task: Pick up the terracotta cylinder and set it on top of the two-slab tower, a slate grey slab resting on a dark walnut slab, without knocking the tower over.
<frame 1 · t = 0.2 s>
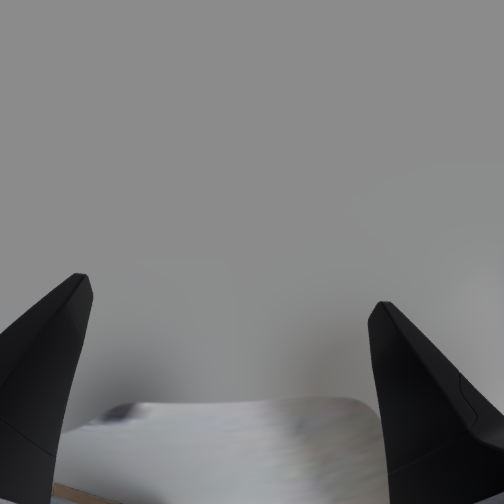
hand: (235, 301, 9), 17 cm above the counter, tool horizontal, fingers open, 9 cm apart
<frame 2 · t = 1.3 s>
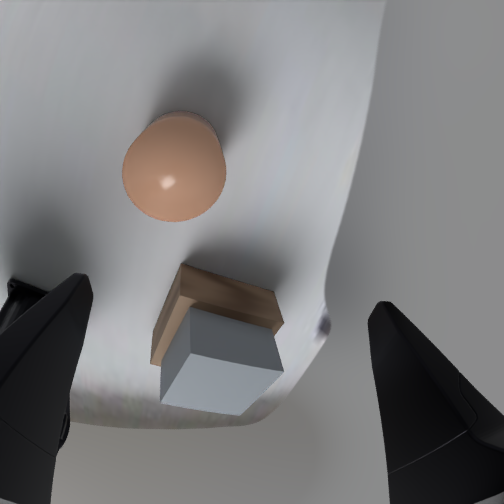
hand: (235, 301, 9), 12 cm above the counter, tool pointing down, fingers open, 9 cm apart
slate slab: (214, 346, 22), point 4 cm above the counter
terracotta cylinder: (179, 150, 18), on the counter
walnut slab: (210, 310, 26), on the counter
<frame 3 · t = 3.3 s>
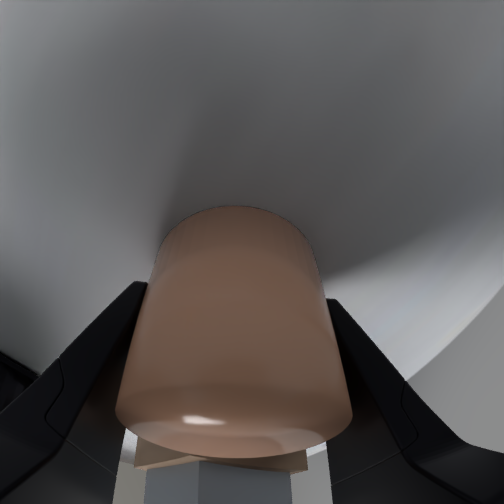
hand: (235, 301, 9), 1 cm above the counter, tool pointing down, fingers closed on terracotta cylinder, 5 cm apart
slate slab: (215, 475, 15), point 4 cm above the counter
terracotta cylinder: (235, 276, 10), on the counter, touching gripper
walnut slab: (217, 420, 18), on the counter
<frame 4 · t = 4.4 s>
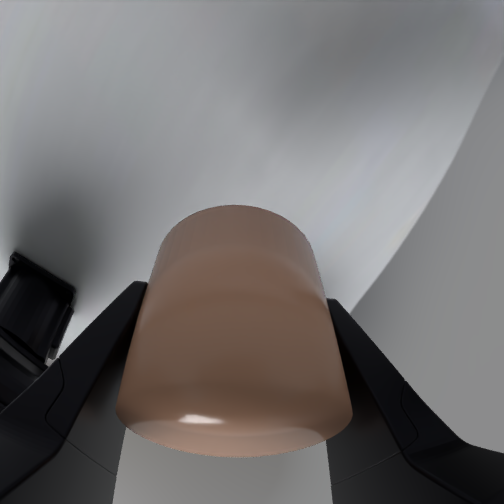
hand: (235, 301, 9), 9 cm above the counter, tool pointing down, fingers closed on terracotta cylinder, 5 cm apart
terracotta cylinder: (235, 275, 10), point 8 cm above the counter, touching gripper
when the fingers open (10 cm above the counter, at t = 6.7 s): terracotta cylinder drops 1 cm, resting on slate slab.
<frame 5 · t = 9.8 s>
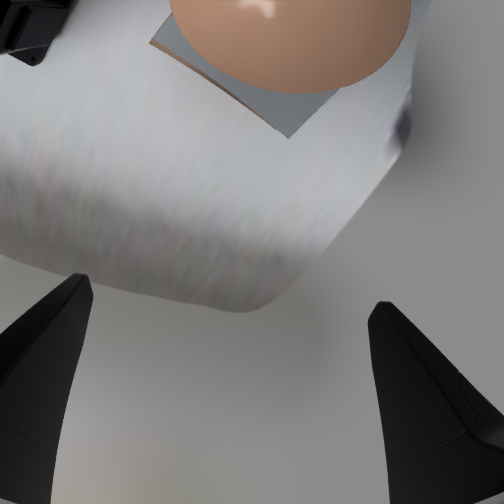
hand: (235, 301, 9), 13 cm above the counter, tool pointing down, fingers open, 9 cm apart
slate slab: (272, 30, 11), point 4 cm above the counter, touching terracotta cylinder, walnut slab
terracotta cylinder: (275, 11, 8), point 8 cm above the counter, touching slate slab
walnut slab: (261, 29, 14), on the counter, touching slate slab
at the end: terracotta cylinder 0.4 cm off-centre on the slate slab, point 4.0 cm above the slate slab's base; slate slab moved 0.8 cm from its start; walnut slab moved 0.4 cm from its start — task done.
